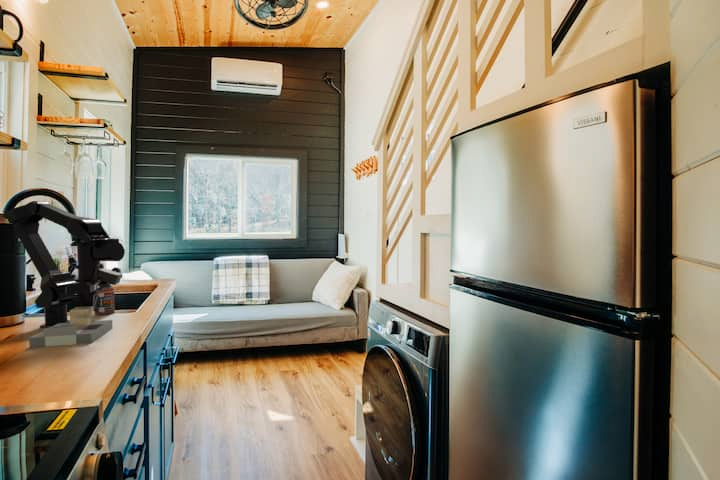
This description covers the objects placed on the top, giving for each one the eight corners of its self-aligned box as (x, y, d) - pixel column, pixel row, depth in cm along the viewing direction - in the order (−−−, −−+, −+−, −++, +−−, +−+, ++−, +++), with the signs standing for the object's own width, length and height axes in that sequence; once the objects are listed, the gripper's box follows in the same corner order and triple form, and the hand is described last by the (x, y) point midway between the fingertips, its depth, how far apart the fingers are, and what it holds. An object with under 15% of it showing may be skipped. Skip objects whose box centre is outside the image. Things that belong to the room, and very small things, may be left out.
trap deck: (58, 331, 123) (58, 316, 123) (112, 328, 126) (111, 313, 126) (29, 347, 107) (28, 330, 107) (91, 343, 110) (90, 326, 110)
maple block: (76, 322, 123) (76, 307, 123) (93, 321, 124) (93, 306, 124) (70, 325, 119) (69, 310, 119) (87, 324, 120) (87, 309, 120)
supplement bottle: (105, 315, 144) (104, 282, 143) (90, 315, 145) (89, 282, 144) (118, 312, 149) (117, 280, 149) (104, 311, 151) (102, 279, 150)
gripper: (107, 263, 121) (109, 317, 121) (127, 257, 139) (129, 305, 139) (63, 264, 118) (65, 320, 119) (89, 258, 136) (91, 307, 137)
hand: (91, 312), depth 129 cm, fingers closed
